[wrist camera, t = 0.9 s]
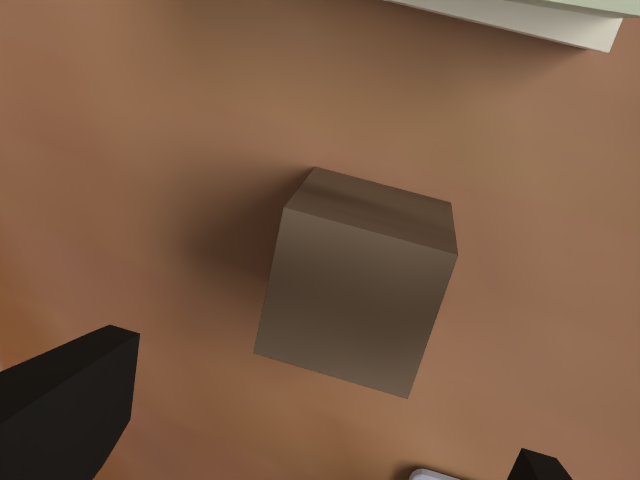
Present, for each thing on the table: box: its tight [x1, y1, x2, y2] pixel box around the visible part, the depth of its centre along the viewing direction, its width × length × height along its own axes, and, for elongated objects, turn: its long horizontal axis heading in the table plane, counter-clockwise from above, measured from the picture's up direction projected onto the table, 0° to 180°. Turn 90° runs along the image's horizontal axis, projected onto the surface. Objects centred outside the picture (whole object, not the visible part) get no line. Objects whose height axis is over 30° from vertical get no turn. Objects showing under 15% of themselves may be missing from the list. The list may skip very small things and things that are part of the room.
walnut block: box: [253, 167, 458, 399], centre depth 17 cm, size 4×4×4 cm
